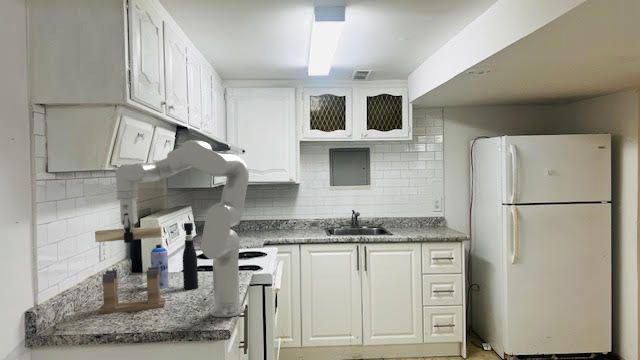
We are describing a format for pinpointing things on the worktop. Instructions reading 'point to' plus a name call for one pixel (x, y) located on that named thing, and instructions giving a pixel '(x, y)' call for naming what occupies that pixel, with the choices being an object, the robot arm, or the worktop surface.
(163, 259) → the aerosol can
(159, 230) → the maple bar
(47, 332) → the worktop surface
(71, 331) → the worktop surface
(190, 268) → the black tall bottle
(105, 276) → the walnut rack
